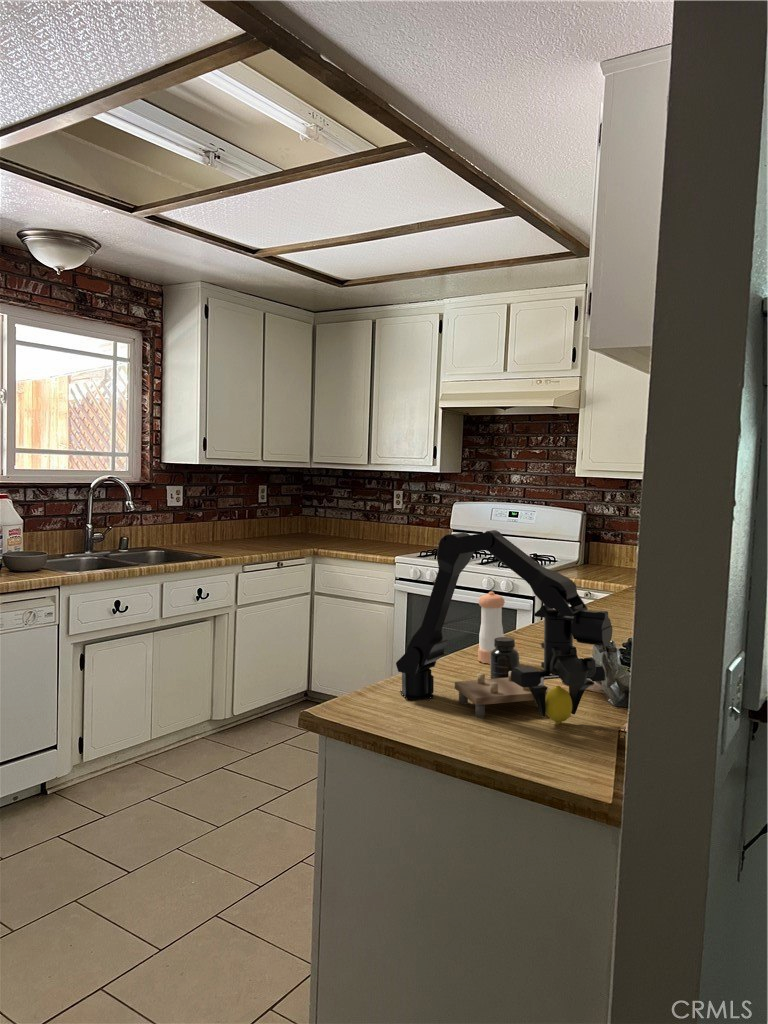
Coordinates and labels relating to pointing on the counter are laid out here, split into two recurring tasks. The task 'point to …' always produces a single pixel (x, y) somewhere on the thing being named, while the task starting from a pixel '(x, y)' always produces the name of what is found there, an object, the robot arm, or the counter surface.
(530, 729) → the counter surface
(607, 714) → the counter surface
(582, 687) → the robot arm
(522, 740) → the counter surface
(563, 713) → the lemon
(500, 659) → the supplement bottle
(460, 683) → the peg shelf
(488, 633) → the pepper shaker
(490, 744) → the counter surface
